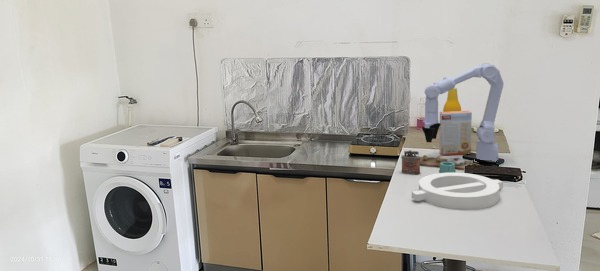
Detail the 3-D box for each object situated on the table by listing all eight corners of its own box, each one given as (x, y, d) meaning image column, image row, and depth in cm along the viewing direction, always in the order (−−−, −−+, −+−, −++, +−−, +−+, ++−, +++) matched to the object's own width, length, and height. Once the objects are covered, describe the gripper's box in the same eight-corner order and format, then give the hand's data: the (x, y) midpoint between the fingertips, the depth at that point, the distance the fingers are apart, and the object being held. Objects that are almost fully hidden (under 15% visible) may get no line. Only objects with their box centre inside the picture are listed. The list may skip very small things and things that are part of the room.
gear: (456, 171, 199) (456, 162, 198) (453, 175, 193) (453, 166, 192) (441, 169, 202) (441, 161, 201) (437, 173, 196) (437, 164, 196)
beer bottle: (438, 141, 252) (439, 88, 246) (452, 139, 256) (453, 86, 250) (450, 144, 244) (452, 90, 238) (464, 142, 248) (465, 88, 241)
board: (471, 163, 209) (471, 155, 209) (465, 170, 199) (466, 162, 198) (421, 158, 221) (421, 151, 220) (413, 165, 211) (413, 157, 210)
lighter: (400, 173, 200) (400, 150, 198) (402, 171, 203) (402, 149, 201) (419, 175, 196) (419, 152, 194) (421, 172, 199) (421, 150, 197)
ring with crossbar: (504, 189, 175) (504, 177, 174) (492, 215, 152) (492, 201, 151) (430, 180, 190) (430, 169, 189) (408, 203, 166) (409, 190, 165)
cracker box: (467, 151, 228) (469, 110, 224) (471, 155, 223) (472, 112, 218) (438, 152, 230) (439, 111, 225) (441, 155, 224) (441, 113, 220)
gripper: (427, 108, 220) (427, 136, 222) (418, 113, 207) (418, 143, 210) (442, 109, 216) (442, 137, 219) (433, 114, 204) (433, 144, 207)
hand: (431, 140), depth 214 cm, fingers open, 7 cm apart
